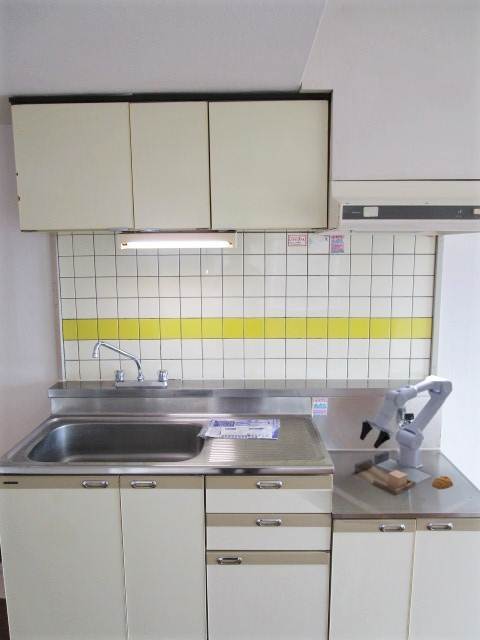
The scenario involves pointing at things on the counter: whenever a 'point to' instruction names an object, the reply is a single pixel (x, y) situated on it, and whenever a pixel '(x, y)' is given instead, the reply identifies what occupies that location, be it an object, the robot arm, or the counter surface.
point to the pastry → (442, 482)
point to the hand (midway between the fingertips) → (367, 443)
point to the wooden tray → (378, 477)
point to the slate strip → (399, 467)
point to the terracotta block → (397, 479)
